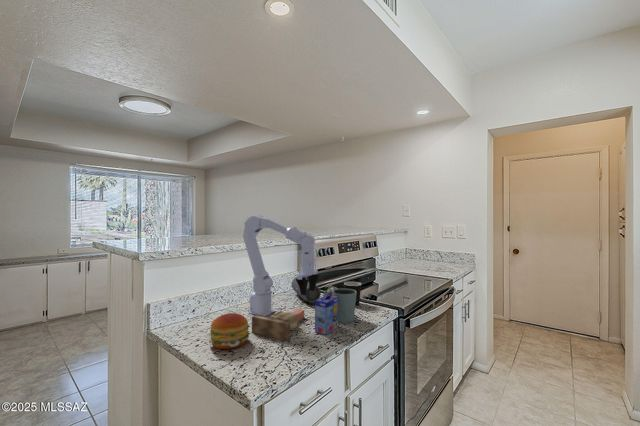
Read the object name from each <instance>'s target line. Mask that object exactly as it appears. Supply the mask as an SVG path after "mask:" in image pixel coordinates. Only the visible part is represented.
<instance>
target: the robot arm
mask: <svg viewBox="0 0 640 426" xmlns="http://www.w3.org/2000/svg"><path fill="white" fill-rule="evenodd" d="M243 225H244V229H243V233H242V239H243V242H244V244H245V247H246V252H247V255H248V257H249V258H248V259H249V261H250V265H251V269H252V272H253V278H252V281H253V282H252V283H253V286H252V288H253V292H252V293H251V294H250V296H249V311H248V314H250V315H251V314H252V315H257V316H262V317H267V316H269V315H271V314H274V312H276V309H272V308H273V307H272V287H273V285H274V281H273V279H272V278H271V276H270V275H269V272H268V271H267V270H266V267H265V264H264V261H263V258H262V255H261V251H260V247H259V244H258V241H257V236H258V234H259V232H261V231H262V230H263V229H271V230H273V231H275V232H278V233H280V234H283V235H285V238H286V239H287V240H289V241H291V242H294V243H296V244H297V245H300V247H301V264H300V265H301V271H300V272H299V273H297V276H296V277H297V278H296V281H297V283H298V285H299V288H300V292H301V295H306V291H307V284H308V281H309V288H310V290H311V291H315V287H316V286H317V283H318V280H319V278H320V274H319V271H318V269H317V268H315V246H314V245H315V243H316V239H315V236H314V235H312V234H311V233H308V232H307V231H301V230H300V229H298V227H296V226H294V227H293V226H290V227H287V226H285V225H283V224H280V223H279V222H277V221H275V220H273V219H270V218H268V217H266V216H264V215H250V216H248V217H247V219H246V220H245V222H244V224H243Z"/></svg>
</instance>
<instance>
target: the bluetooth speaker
mask: <svg viewBox="0 0 640 426" xmlns="http://www.w3.org/2000/svg"><path fill="white" fill-rule="evenodd" d="M296 278H297V276H295V277H294V278H293V279H292V281H291V288H292V290H293V291H294V292H295V293H296V294H297V295H298V296H299V297H300V299H302V300H303V301H305V302H309V303H315V301H316V300H317V299H319V298H321V295H322V293H321V289H320V288H319V286H318V285H316V287H315V291H311V290H310V288H309V281H308V284H307V291H306V295H301V292H300V288H299V285H298V283H297V281H296Z"/></svg>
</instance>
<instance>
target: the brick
mask: <svg viewBox="0 0 640 426" xmlns="http://www.w3.org/2000/svg"><path fill="white" fill-rule="evenodd" d="M291 313H293V314H297V323H298V322H300V321H302V320H303V319H305V310H304V309H300V308H296V309H295V310H293V311H291Z"/></svg>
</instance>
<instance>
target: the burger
mask: <svg viewBox="0 0 640 426" xmlns="http://www.w3.org/2000/svg"><path fill="white" fill-rule="evenodd" d="M249 328H250V325H249V321H248V319H247V318H246V317H245V315H242V314H241V313H236V312H235V313H234V312H233V313H232V312H231V313H225V314H221V315H220V316H218V317H216V318H215V319H213V321H212V322H211V324H210V331H209V332H210V336H209V339H208V343H209V344H211V345H212V347H214V348H216V349H219V350H229V349H230V350H231V349H235V348H239V347H241V346H242V345H244V344H245V343H246V342H247V340H248V339H249V337H250V332H249Z"/></svg>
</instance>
